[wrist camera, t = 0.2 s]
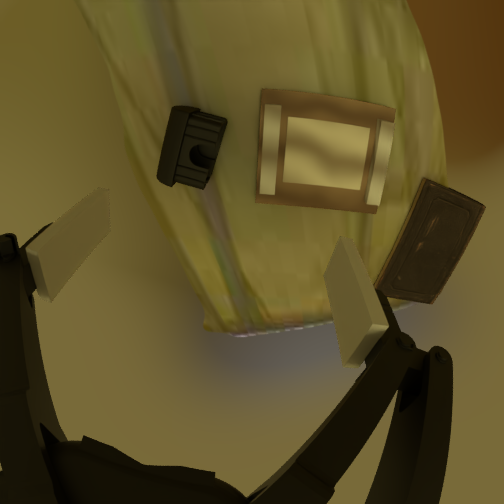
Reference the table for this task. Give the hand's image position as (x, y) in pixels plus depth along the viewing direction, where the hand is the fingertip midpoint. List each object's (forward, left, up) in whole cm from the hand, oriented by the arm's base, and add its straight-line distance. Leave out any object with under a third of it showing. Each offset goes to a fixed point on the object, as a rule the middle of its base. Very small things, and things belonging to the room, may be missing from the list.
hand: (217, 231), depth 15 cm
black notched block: (0, -8, -27) cm, 28 cm away
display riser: (0, +10, -27) cm, 29 cm away
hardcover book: (+14, +33, -28) cm, 46 cm away
